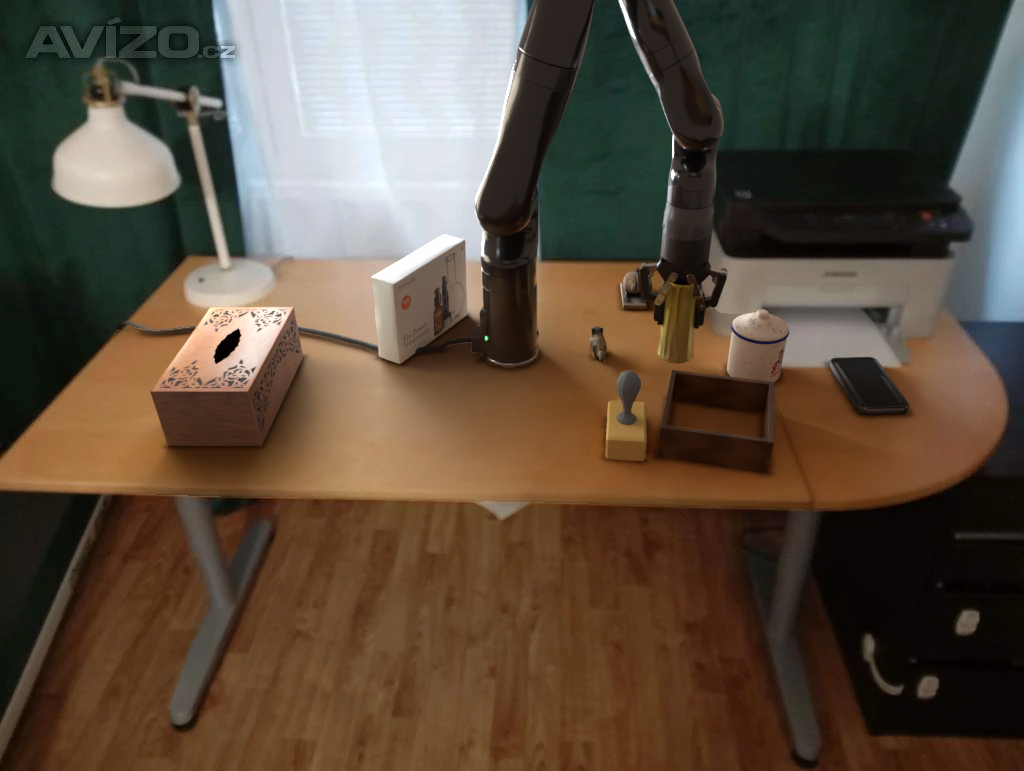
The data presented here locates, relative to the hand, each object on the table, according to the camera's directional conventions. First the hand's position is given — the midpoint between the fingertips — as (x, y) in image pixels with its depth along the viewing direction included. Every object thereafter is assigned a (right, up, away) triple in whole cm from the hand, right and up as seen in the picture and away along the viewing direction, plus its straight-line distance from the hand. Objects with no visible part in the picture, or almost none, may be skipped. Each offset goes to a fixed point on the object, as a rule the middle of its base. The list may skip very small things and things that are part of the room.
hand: (678, 324), depth 135 cm
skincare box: (-43, -1, +15) cm, 46 cm away
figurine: (-4, +6, +24) cm, 25 cm away
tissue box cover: (-72, -12, -1) cm, 73 cm away
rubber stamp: (-10, -18, -12) cm, 25 cm away
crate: (+3, -17, -12) cm, 21 cm away
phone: (+30, -11, -3) cm, 32 cm away
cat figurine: (-12, -5, +7) cm, 15 cm away
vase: (0, -5, +3) cm, 6 cm away
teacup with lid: (+13, -7, +3) cm, 16 cm away
